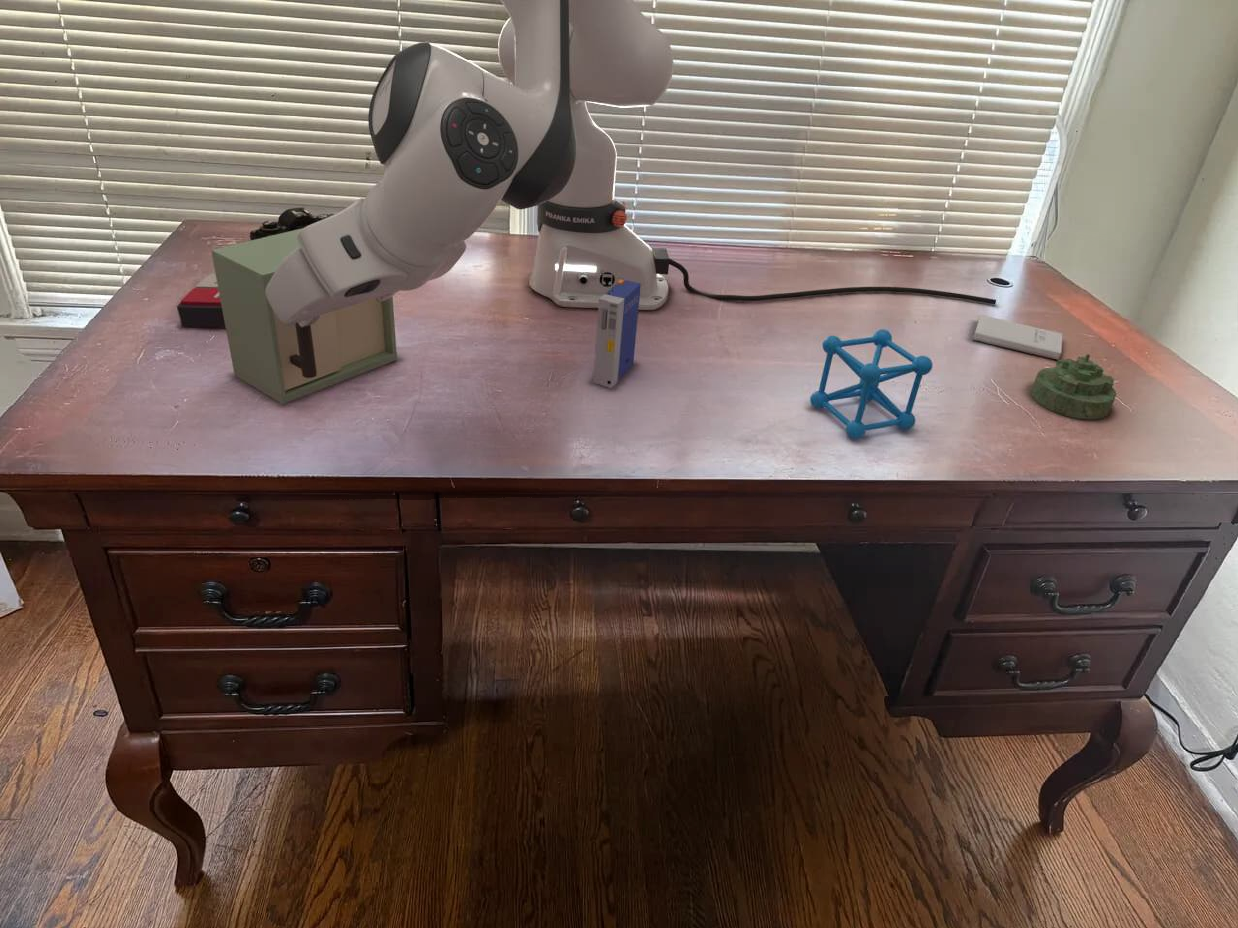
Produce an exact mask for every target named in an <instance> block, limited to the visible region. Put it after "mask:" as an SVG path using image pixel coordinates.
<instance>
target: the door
mask: <svg viewBox="0 0 1238 928" xmlns="http://www.w3.org/2000/svg"><path fill="white" fill-rule="evenodd" d="M268 283H269V282H268ZM273 316H274V322H275V329H276V335H277V342H278V348H279V355H280V361H281V368H282V374H283V381H284V387H285V391H286V390H289V389H291V388H294V387H297V386H299V385H302V384H305V383H307V382H310V381H312V380H315V379H318V378H320V377H323V376H326V375H328V374H331V373H334V372H336V371H339V370H341V363H340V354H339V345H338V336H337V327H336V318H335V311H332V312H329V313H326V314H323V315H320V317H319V319H318V320H317V321H316V322H315V323H313V324H311V325H308V326H304V327H301V326H300V325H299V324H298V323H295V324H292V325H286V324H284V323H283V322H281V321H280V320H279V318H278V317H277V316H276V314H275V312H274V311H273Z"/></svg>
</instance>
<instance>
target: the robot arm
mask: <svg viewBox="0 0 1238 928" xmlns="http://www.w3.org/2000/svg"><path fill="white" fill-rule="evenodd" d="M499 1H500V2H501V4H502V5H503V7H504V8H505V10H506V12H507V14H508V15H509V18H508V19H507V20H506V22H505V23H504V25H503V27H502V29H501V31H500V34H499V38H498V42H497V43H498V44H497V54H498V55H497V56H498V61H499V64H500V68H501V70H502V72H503V74H504V76H505V78H506V80H505V79H503V78H501V77H499V76H497V75H495V74H493V73H491V72H489V71H487V70H485V69H483V68H481V67H480V66H479V65H478V64H475V63H474V62H472V61H470V60H468V59H466V58H464V57H462V56H460V55H458V54H456V53H455V52H452V51H450V50H448V49H446V48H444V47H442V46H439V45H437V44H434V43H431V42H430V41H422V42H417V43H414V44H411V45H410V46H408V47H406V48H404V49H402V50H401V51H399V52H397V53H396V54H395V55H394V56H393V57H392V58H391V60H390V62H389V63H388V65H387V66H386V67H385V70H384V71H383V73H382V75H381V77H380V78H379V80H378V82H377V84H376V86H375V88H374V91H373V93H372V97H371V99H370V102H369V103H370V104H369V108H368V118H367V120H368V121H367V122H368V123H367V124H368V130H369V135H370V139H371V141H372V145H373V149H374V151H375V154H376V158H377V159H378V161H379V163H380V165H383V167H384V173H383V176H382V179H381V180H380V181H379V182H378V183H375V184H374V186H373V187H372V188H371V189H370V190H369V191H368V193H367V194H366V195H365V197H361V198H358V199H357V200H355V201H354V202H353V203H351V204H350V205H348V206H347V207H345V208H344V209H342V210H340V211H339V212H335V213H336V214H333V215H331V216H329V217H327V218H325V219H322V220H320V221H317V222H315V223H313V224H311V225H308V226H306V227H305V228H303V229H302V230H301V232H300V233H299V234H298V237H297V239H298V242H299V244H300V247H298V248H297V249H295V250H294V251H292V252H291V253H290V254H289V255H288V256H287V257H286V258H285V259H284V260H283V262H282V263H281V264H280V266H279V267H278V269H277V270H276V272H275V273H274V275H273V276H272V278H271V280H270V281H269V283H268V285H267V287H266V291H265V293H266V297H267V300H268V302H269V304H270V306H271V307H272V309H273V311H274V312H275V314H276V316H277V317H278V318H279V320H280V321H281V322H283V323H284V324H286V325H292V324H295V323H298V324H299V325H300V326H301V327H304V326H308V325H311V324H313V323H315V322H316V321H317V320H318V319H319V317H320V315H323V314H326V313H329V312H332V311H336V310H339V309H342V308H345V307H348V306H351V305H354V304H358V303H361V302H364V301H367V300H370V299H373V298H375V299H376V301H377V302H381V301H384V300H388V299H390V298H391V297H392V296H393V297H394V295H396V293H399V292H400V291H403V292H407V291H408V292H409V291H413V290H417V289H419V288H421V287H423V286H425V285H426V284H427V283H428V282H430V281H432V280H437V279H439V278H441V277H443V276H444V275H446V274H447V273H448V272H450V271H451V270H452V269H453V267H455V265H456V264H457V263H458V261H459V260H460V259H461V257H462V256H463V255H464V253H465V251H466V249H467V244H466V242H465V241H466V240H467V239H469V238H471V236H473V234H474V233H475V232H477V230H479V228H480V227H481V226H482V225H483V224H484V223H485V221H487V219H488V218H489V217H490V216H491V214H492V213H493V212H494V210H495V209H496V208H497V206H498V205H499V203H500V202H503V203H505V204H507V205H509V206H511V207H513V208H514V209H516V210H525V209H530V208H534V207H536V225H537V231H538V238H537V245H536V252H535V256H534V262H533V264H532V269H531V272H530V275H529V278H528V285H529V287H530V288H531V290H533V291H534V292H536V293H537V294H539V295H541V296H544V297H546V298H548V299H550V300H551V301H552V302H553V303H554V304H556V305H557V306H559V307H561V308H578V309H579V308H580V309H585V308H586V309H598V306H599V298H601V297H602V296H603V295H604V294H605V293H606V292H607V291H609V290H610V289H611V288H612V287H613V286H614V285H616V284H617V282H618V281H619V280H620V279H623V280H627V281H632V282H636V283H641V288H640V298H639V309H638V311H655V310H657V309H659V308H661V307H662V306H664V304H665V303H666V302H667V300H668V297H669V283H668V281H667V279H666V277H664V275H669V270H670V269H669V268H670V266H672V267H674V268H675V269H677V270H679V271H680V272H681V274H682V277H683V286H684V288H685V289H686V290H687V291H689V293H691V294H694V295H699V296H703V297H707V298H710V299H713V300H718V301H719V300H720V301H737V302H761V301H771V300H782V299H783V300H784V299H794V298H804V297H813V296H822V295H823V296H824V295H833V294H846V293H847V294H848V293H870V292H874V293H875V292H879V293H880V292H881V293H882V292H883V293H887V292H888V293H905V294H917V295H918V294H919V295H927V296H928V295H929V296H935V297H944V298H952V299H959V300H964V301H972V302H977V303H982V304H988V305H994V306H995V305H996V303H997V299H995V298H989V297H983V296H977V295H970V294H963V293H957V292H951V291H943V290H937V289H927V288H917V287H915V288H914V287H903V286H852V287H849V286H848V287H838V288H837V287H836V288H825V289H816V290H815V289H814V290H806V291H805V290H803V291H796V292H782V293H772V294H763V295H761V294H760V295H739V294H738V295H737V294H710V293H704V292H701V291H699V290H697V289H695V288H694V287H693V286H692V285H691V284H690V282H689V279H690V277H689V272H688V270H687V269H686V268H685V267H684V265H682V264H681V263H679V262H677V261H675V260H674V259H671V258H670V257H669V252H668V250H667V248H664V247H663V248H662V247H652V248H651V246H650V245H649V244H648V243H646V242H645V241H644V240H643V239H641V238H640V237H639V236H638V235H637V234H636V233H635V232H634V231H632V229H630V228H629V227H628V226H627V225H626V221H627V218H628V215H627V207H626V202H625V201H624V200H623V201H622V202H620V200H618V199H617V198H615V185H616V183H615V182H616V171H617V159H618V154H617V150H616V147H615V143H614V141H613V139H612V138H611V137H610V136H609V134H608V133H606V132H605V131H604V130H603V129H601V128H600V127H599V126H598V125H597V124H596V123H595V121H594V120H593V118H592V116H591V115H590V113H589V110H588V107H587V103H592V104H598V105H604V106H609V107H614V108H615V107H616V108H621V109H622V108H623V109H624V108H640V107H641V108H642V107H652V106H654V105H655V104H656V103H657V102H659V101H660V100H661V98H662V97H663V96H664V94H665V93H666V92H667V90H668V89H669V87H670V84H671V81H672V79H673V75H674V74H673V73H674V54H673V50H672V47H671V44H670V43H669V40H668V38H667V37H666V35H665V33H664V32H663V31H661V30H660V29H659V28H658V27H656V26H655V25H654V24H653V23H652V22H650V21H649V19H647V17H646V16H645V15H644V13H642V11H641V10H640V9H639V7H638V6H637V4H636V3H635V2H634V0H499ZM507 80H508V81H509V82H508V81H507Z"/></svg>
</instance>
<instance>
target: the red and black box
mask: <svg viewBox="0 0 1238 928" xmlns="http://www.w3.org/2000/svg"><path fill="white" fill-rule="evenodd" d="M176 310H177V313H178V316H179V320H180V323H181V326H182V327H185V328H226V327H225V321H224V316H223V311H222V305H221V300H220V295H219V290H218V284H217V279H216V274H215V273H209V274H207V275H206V276H205V277H204V278H203V279H202V280H201V281H199V282H198V283H197V284H196V286H195V287H194V288H192V289H191V290H190V291H189V292H188V293H187V294H186V295H185V296H184V297H182V299H181V300H180V302H179V303H178V304H177V305H176Z"/></svg>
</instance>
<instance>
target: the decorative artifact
mask: <svg viewBox="0 0 1238 928" xmlns="http://www.w3.org/2000/svg"><path fill="white" fill-rule="evenodd" d="M1090 357H1091V354H1089V353H1086V354H1085V356H1078V357H1077V359H1076V360H1073V359H1072V358H1066V359H1059V360H1056V364H1055V366H1054V367H1045V368H1042V369H1040V370H1039V371H1038V372H1037V374H1036V376H1035V379H1034V381H1033V384H1032V387H1031V389H1030V395H1031V397H1032V398H1033V400H1035V401H1036V402H1037V403H1038V404H1039V405H1040V406H1042V407H1044V408H1045V409H1047V410H1049V411H1052V412H1054V413H1057V414H1059V415H1061V416H1065V417H1069V418H1074V419H1078V420H1079V419H1080V420H1090V421H1091V420H1092V421H1093V420H1099V419H1103V418H1105V417H1107V416H1108V415H1109V413H1110V411H1111V408H1112V407H1113V404H1114V402H1115V400H1116V397H1117V391H1116V390H1115V388H1114V387H1113V386H1114V383H1115V380H1114V378H1113V376H1111V375H1105V373H1104V368H1103V367H1101V366H1100V365H1099V364H1098V363H1095V362H1094V361H1093V360H1091V359H1090Z"/></svg>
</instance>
